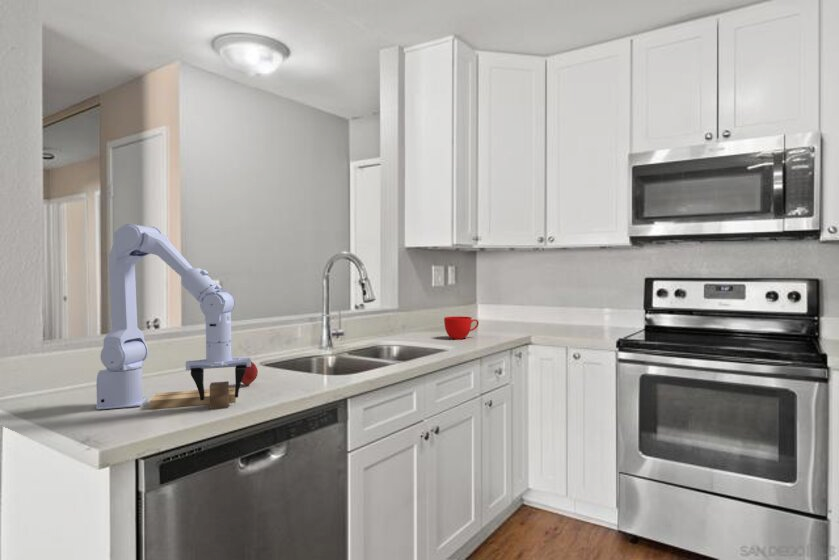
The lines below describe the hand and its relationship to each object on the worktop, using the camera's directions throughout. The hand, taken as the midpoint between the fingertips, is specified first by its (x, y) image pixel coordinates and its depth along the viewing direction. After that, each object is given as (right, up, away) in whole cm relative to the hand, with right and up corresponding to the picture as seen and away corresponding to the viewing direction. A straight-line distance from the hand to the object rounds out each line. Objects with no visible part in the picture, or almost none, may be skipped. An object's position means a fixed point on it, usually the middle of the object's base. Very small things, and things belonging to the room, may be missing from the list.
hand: (219, 398), depth 123 cm
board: (-8, -2, +4) cm, 9 cm away
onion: (-1, -2, +22) cm, 23 cm away
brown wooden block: (-1, -2, +2) cm, 3 cm away
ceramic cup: (+68, 0, +120) cm, 138 cm away
